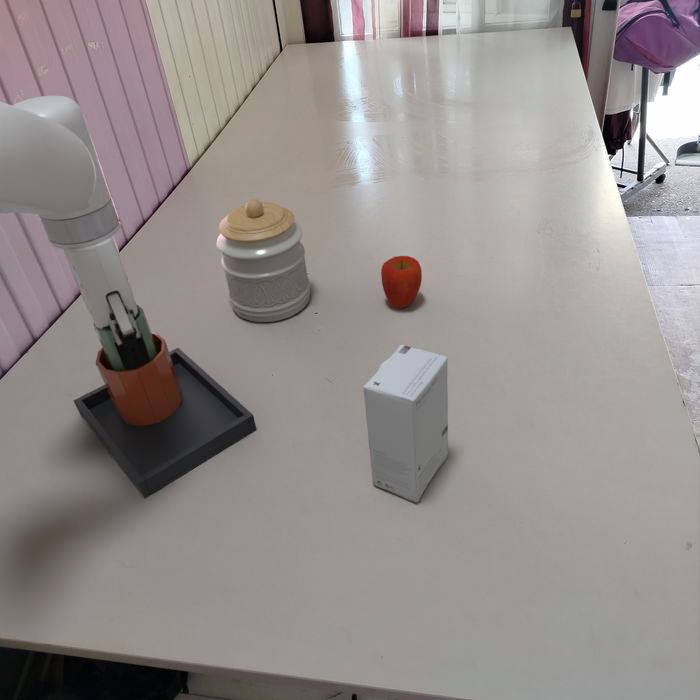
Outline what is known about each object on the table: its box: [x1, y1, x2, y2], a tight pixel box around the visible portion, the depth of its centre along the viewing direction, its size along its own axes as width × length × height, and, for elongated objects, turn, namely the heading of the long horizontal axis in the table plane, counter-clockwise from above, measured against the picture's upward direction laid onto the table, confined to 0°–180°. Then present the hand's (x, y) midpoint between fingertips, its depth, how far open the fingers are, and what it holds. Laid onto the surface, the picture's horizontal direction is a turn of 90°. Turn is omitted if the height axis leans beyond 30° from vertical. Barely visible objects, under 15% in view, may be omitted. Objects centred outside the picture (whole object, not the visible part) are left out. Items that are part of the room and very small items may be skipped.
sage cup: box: [93, 304, 158, 372], centre depth 79 cm, size 6×6×8 cm
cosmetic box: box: [363, 344, 449, 504], centre depth 68 cm, size 8×6×15 cm
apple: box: [380, 255, 423, 309], centre depth 97 cm, size 6×6×8 cm
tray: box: [73, 347, 257, 499], centre depth 82 cm, size 16×20×3 cm
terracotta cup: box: [95, 331, 182, 426], centre depth 82 cm, size 8×8×9 cm
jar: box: [216, 198, 311, 323], centre depth 98 cm, size 13×13×18 cm
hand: (130, 350), depth 79 cm, fingers closed on sage cup, 5 cm apart
